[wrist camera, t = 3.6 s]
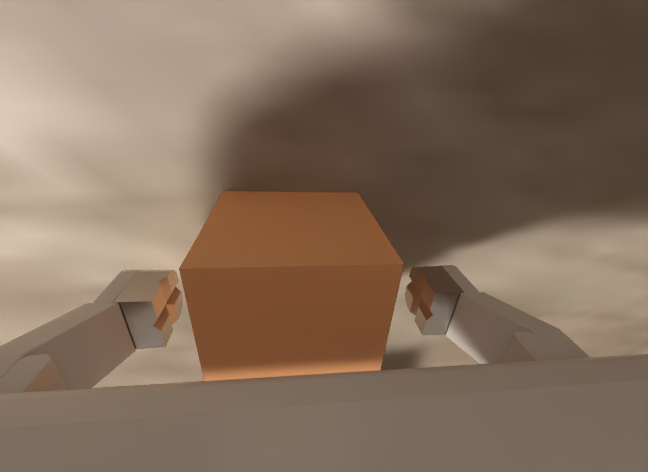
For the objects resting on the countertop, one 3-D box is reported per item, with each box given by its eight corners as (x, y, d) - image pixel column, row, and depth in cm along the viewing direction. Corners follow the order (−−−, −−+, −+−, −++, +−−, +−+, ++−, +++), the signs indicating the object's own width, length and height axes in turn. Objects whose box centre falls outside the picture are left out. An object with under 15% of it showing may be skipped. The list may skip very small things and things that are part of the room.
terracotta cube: (224, 190, 10) (179, 268, 6) (357, 191, 11) (404, 264, 7) (236, 296, 13) (210, 408, 8) (346, 293, 13) (374, 395, 9)
